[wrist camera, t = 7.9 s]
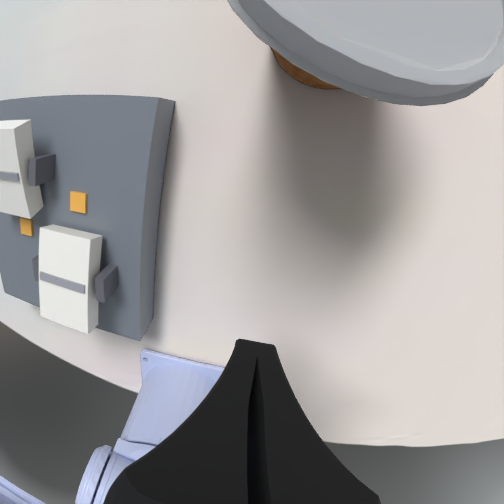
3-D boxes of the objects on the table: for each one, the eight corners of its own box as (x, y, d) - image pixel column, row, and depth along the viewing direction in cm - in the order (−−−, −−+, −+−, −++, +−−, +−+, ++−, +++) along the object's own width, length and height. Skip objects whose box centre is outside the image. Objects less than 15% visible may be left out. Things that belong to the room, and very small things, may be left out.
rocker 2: (98, 324, 18) (86, 334, 16) (52, 308, 18) (39, 317, 16) (102, 235, 17) (89, 240, 15) (53, 224, 17) (38, 227, 15)
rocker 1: (43, 206, 16) (29, 220, 15) (7, 199, 16) (-7, 211, 15) (30, 119, 12) (12, 129, 11) (-7, 121, 12) (-25, 131, 11)
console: (153, 317, 23) (130, 359, 18) (21, 276, 22) (-11, 302, 18) (175, 101, 17) (143, 94, 12) (17, 100, 16) (-27, 103, 12)
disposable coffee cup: (262, -32, 12) (252, -158, 1) (405, 11, 13) (515, -57, 2) (227, 93, 16) (155, 44, 5) (378, 135, 17) (512, 163, 6)
